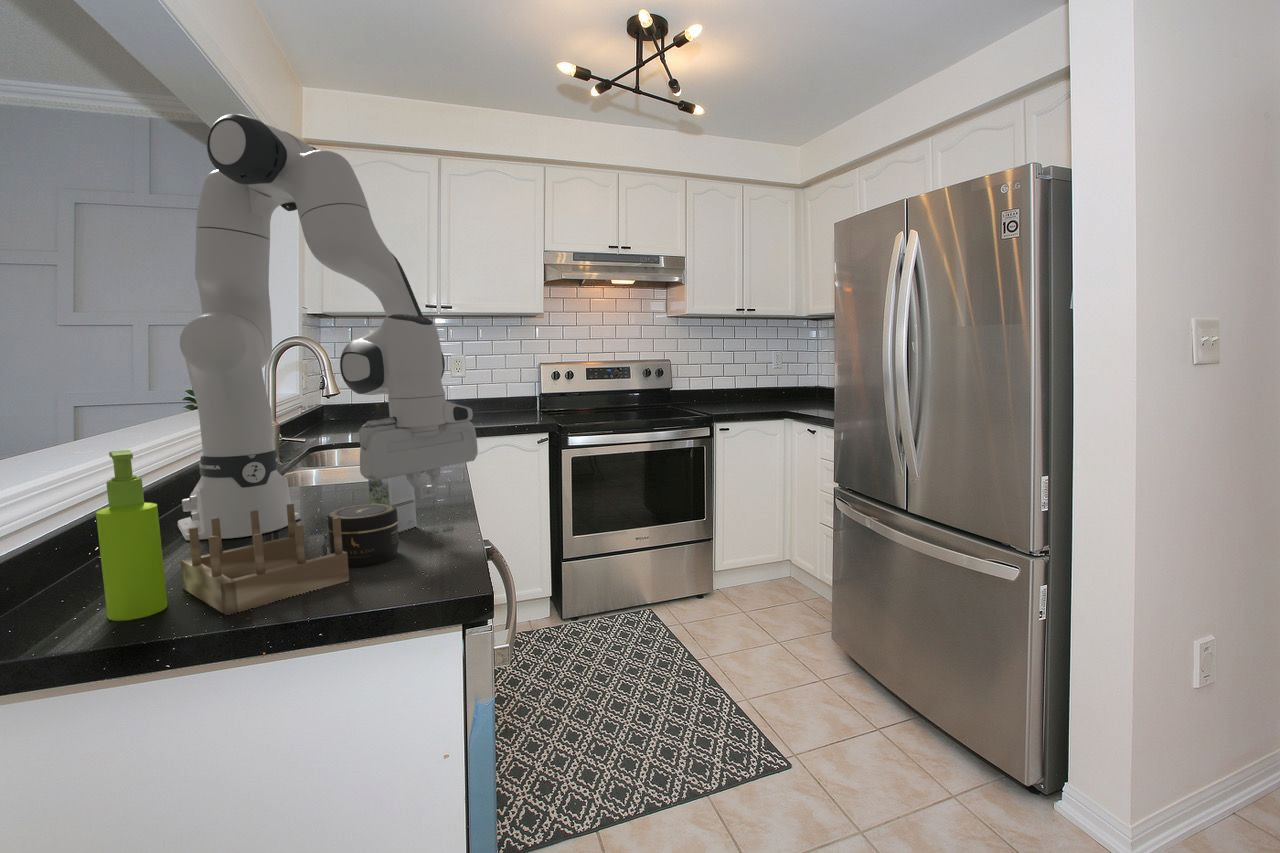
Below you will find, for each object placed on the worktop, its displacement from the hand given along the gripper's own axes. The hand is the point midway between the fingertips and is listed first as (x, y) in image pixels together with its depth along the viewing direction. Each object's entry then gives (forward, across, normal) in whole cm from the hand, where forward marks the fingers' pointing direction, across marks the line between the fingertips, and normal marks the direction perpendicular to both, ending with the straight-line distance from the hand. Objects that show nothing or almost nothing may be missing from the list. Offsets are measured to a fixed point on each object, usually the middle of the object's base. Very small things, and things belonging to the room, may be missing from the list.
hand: (425, 496), depth 107 cm
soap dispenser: (+7, -39, +5) cm, 40 cm away
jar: (+8, -11, +1) cm, 13 cm away
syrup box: (+8, +1, +12) cm, 15 cm away
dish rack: (+7, -24, +1) cm, 25 cm away
